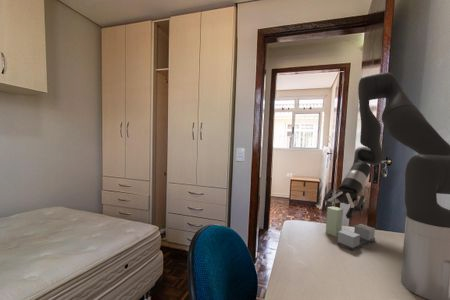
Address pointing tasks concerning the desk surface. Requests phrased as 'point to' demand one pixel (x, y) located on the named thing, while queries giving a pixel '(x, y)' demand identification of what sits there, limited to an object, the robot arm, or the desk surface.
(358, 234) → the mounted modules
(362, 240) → the dark gray flat board
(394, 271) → the desk surface
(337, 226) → the block
